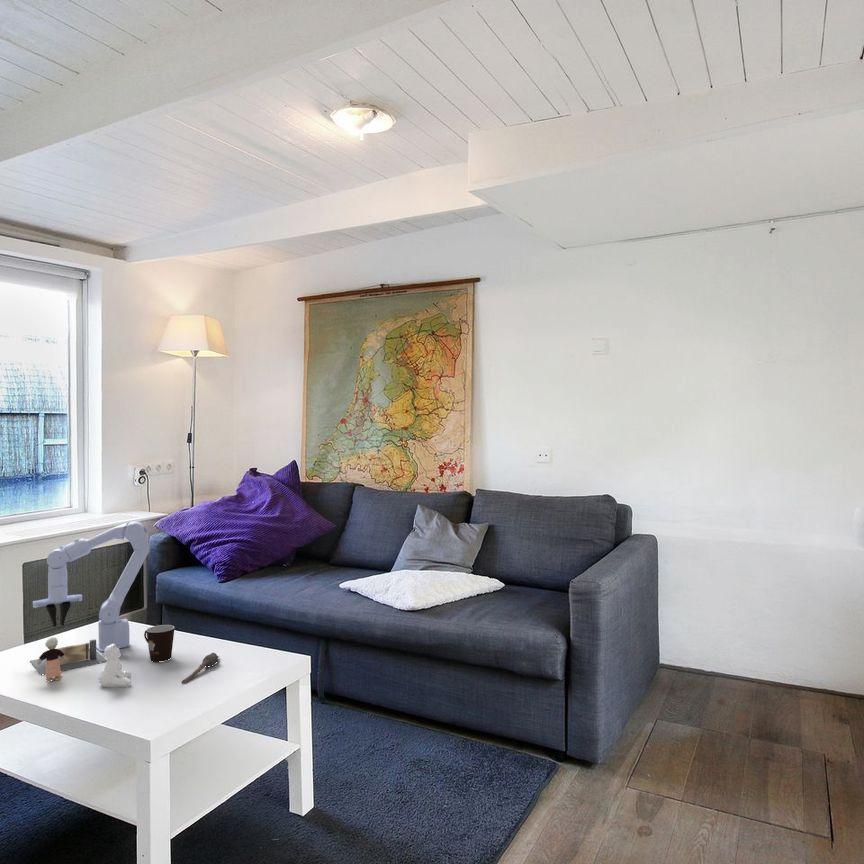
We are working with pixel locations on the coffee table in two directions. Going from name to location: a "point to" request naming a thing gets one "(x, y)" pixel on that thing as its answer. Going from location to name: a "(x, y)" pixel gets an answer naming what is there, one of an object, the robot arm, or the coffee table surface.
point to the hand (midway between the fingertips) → (58, 625)
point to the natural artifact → (203, 665)
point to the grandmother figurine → (52, 659)
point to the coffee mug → (160, 642)
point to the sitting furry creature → (114, 670)
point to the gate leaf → (75, 653)
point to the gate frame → (93, 659)
